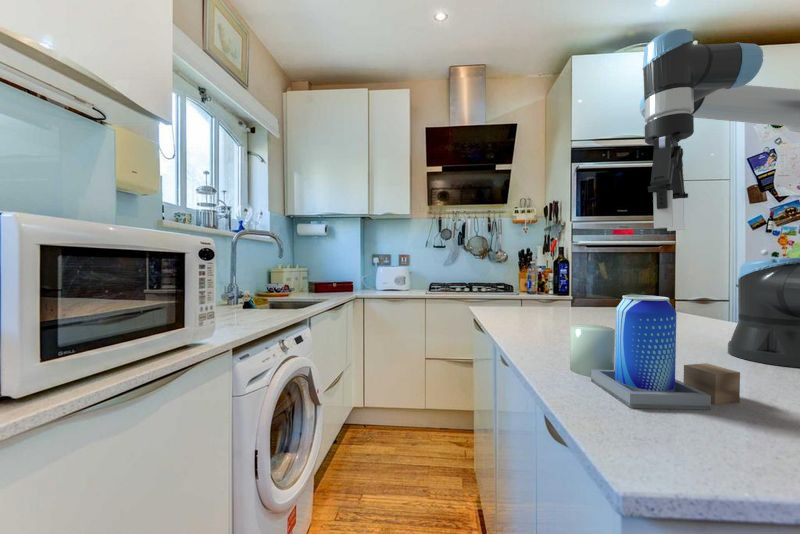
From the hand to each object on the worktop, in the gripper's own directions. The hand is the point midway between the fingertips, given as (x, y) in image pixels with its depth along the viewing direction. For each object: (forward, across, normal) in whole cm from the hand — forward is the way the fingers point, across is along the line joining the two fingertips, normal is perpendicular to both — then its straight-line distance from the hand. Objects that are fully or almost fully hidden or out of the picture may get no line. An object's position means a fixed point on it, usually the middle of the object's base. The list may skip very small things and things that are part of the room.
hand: (669, 229), depth 68 cm
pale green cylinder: (+28, +8, -12) cm, 32 cm away
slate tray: (+28, +14, -2) cm, 32 cm away
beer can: (+28, +14, -2) cm, 32 cm away
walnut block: (+29, +8, +6) cm, 31 cm away
